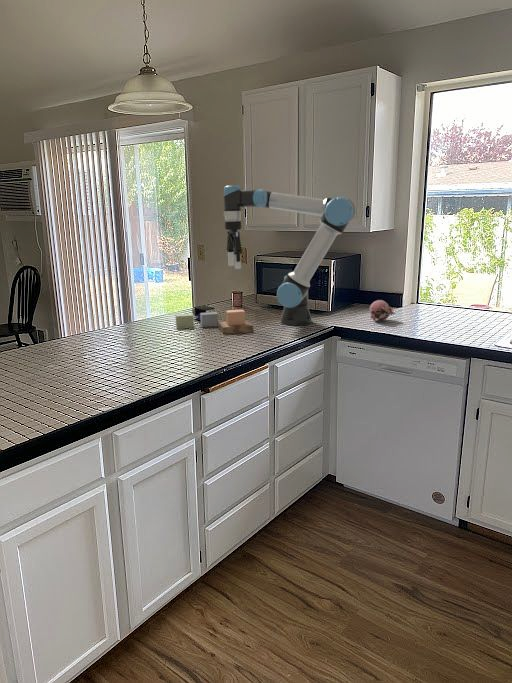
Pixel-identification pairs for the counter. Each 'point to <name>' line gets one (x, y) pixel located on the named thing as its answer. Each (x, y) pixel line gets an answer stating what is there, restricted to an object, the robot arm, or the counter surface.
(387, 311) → the toy
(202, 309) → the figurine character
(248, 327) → the walnut board
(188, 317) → the olive brick
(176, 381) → the counter surface
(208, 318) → the grey brick
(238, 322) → the terracotta brick
